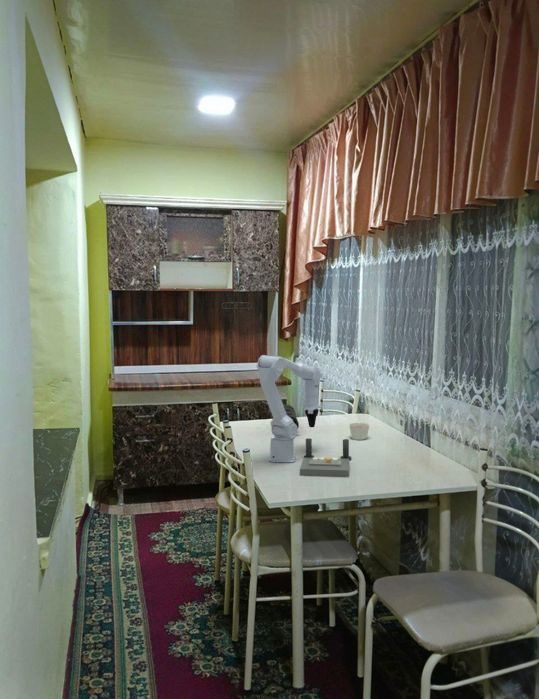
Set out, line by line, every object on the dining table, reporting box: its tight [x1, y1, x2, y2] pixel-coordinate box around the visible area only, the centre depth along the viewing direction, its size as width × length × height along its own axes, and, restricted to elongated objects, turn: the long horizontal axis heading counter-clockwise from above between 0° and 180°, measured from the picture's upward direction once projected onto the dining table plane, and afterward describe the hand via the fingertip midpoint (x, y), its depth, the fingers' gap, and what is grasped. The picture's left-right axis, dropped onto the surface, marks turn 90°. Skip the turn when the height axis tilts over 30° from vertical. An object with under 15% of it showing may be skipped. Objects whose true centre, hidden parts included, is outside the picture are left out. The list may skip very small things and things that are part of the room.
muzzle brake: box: [283, 403, 300, 429], centre depth 285 cm, size 10×28×10 cm, turn 2°
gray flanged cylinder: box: [303, 438, 315, 458], centre depth 237 cm, size 4×4×8 cm
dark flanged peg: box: [339, 438, 352, 462], centre depth 234 cm, size 4×4×8 cm
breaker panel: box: [299, 456, 350, 478], centre depth 221 cm, size 18×14×5 cm
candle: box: [348, 422, 370, 441], centre depth 266 cm, size 9×9×6 cm
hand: (311, 426), depth 247 cm, fingers closed
